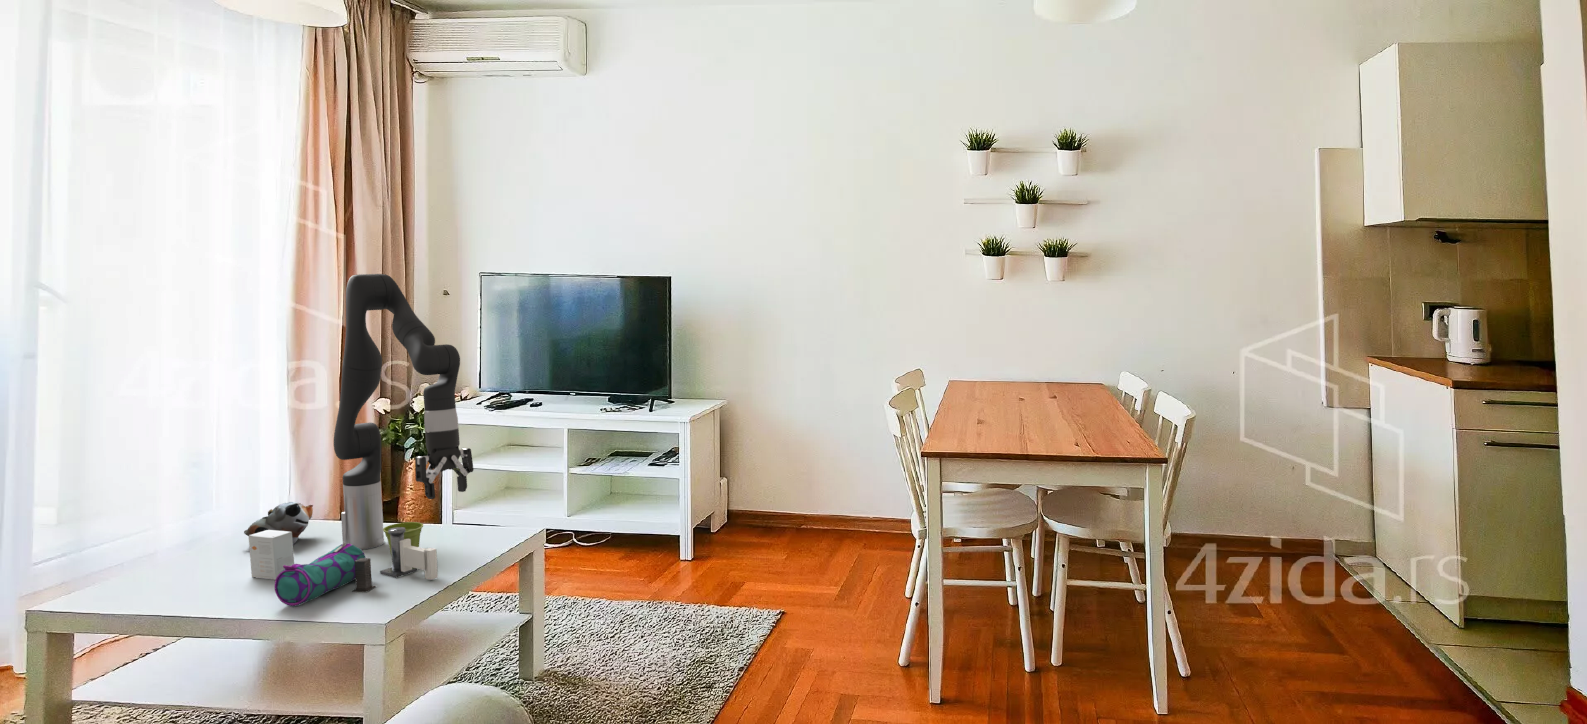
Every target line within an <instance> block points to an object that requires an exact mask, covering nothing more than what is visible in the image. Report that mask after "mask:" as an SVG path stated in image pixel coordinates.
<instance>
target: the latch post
mask: <svg viewBox="0 0 1587 724" xmlns="http://www.w3.org/2000/svg"><path fill="white" fill-rule="evenodd" d="M371 560H372V559H371V557H370V558H369V557H366V558H360V559H358V560H356V561H355V577H356V579H355V588H354V589H352V591H351V592H352V593H369V592H370V591H372V590H373V589H375V588H376V587H377V585H373V582H372V581H373V580H372V562H371Z"/></svg>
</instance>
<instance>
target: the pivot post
mask: <svg viewBox="0 0 1587 724" xmlns="http://www.w3.org/2000/svg"><path fill="white" fill-rule="evenodd" d="M404 532H405V528H404V527H396V528H391V529H389V530H388V534H390V538H391V552H390V557H391V567H388V568H385V569H382V570H380V571H379V572H380V573H379V574H380V575H383V576H387V577H391V578H394V579H395V578H396V577H397V578H400V577H402V576H403V577H404V576H406V575H410V574H412V572H413V573H416V572H418V571H419V569H417V568H413V567H412V570H409V571H406V572H402V571H401V560H400V541H401V540H404ZM397 578H396V579H397Z"/></svg>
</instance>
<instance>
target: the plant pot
mask: <svg viewBox="0 0 1587 724" xmlns="http://www.w3.org/2000/svg"><path fill="white" fill-rule="evenodd" d="M396 527H404V528H405V532H404V539H411V546H415V547H420V543H421V542H420V540H421V539H420V538H421V533H422V529H423V527H424V523H421V522H417V521H409V522H408V521H407V522H398V523H393V524H390V525H387V526H385V527H383V533H385V537H386V539H387V543H388V547H389V550H390V551H389V552H390V553H391V538H390V534H388V530H389V529H391V528H396Z"/></svg>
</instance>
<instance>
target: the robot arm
mask: <svg viewBox="0 0 1587 724" xmlns="http://www.w3.org/2000/svg"><path fill="white" fill-rule="evenodd" d="M382 310H383V311H384V310H387V311H389V312H390V313H392V314H393V318H392V324H391V328H392V332H393V334H394V337H395V339H396V340H397V341H398V342H399V343H400V344H401V345H402V346H403V347H404V349H406V351H407V353H408V356H409V358H410V361H411V364H412V367H413V369H414V370H415V371H416V372H417V373H418V374H420V375H423V376H433V375H434V376H435V375H436V376H437V375H439V376H438V379H437V382H435V383H433V384H430V385H427V386H426V387H424V389H423V394H422V395H423V404H424V405H423V407H424V419H423V420H424V423H423V424H424V434H425V437H424V438H425V447H426V450H427V454H426V455H423V456H422V455H421V456H420V455H417V456H415V458H414V463H415V464H414V465H415V467H414V469H415V470H414V471H415V472H414V473H415V474H414V475H415V482H417V483H418V482H419V483H423V485H424V495H425V497H426V498H427V499H429V500H433V499H435V498H436V490H435V487H436V486H435V483H434V481H435V479H436V477H437V476H438V475H439V474H440V472H444V471H445V472H446V470H452V471H454V473H455V474H456V475H457V476H456V481H457V483H456V484H457V491H458V493H459V492H460V493H465V492H466V491H467V488H468V479H467V475H468V474H470V473H473V472H474V464H473V456H472V455H473V454H472V449H471V448H469V447H461V449H460V448H459V446H460V428H459V418H458V412H457V406H456V393H455V392H456V387H457V381H458V375H459V370H460V366H461V356H460V354H459V353H460V352H459V351H458V349H457V347H455V346H454V345H453V344H446V343H445V344H436V337H435V335H434V334H433V333H432V331H431V330H430V329H429V328H428V327H427V325H425V323H423V322H422V320H421V319H419V317H418V316H417V315H416V313H415V312H414V310H413V309H412V307H411V305H410V304H409V302H408V300H407V298H406V296H405V295H404V293H403V292H402V290H401V288H400V287H399V285H398V284H397V282H396V281H395V280H394V278H393V277H391V276H390V275H389V274H383V273H366V274H363V273H361V274H360V273H359V274H353V275H351V276H350V277H349V278H348V281H347V284H346V290H345V340H344V341H345V342H344V351H343V359H342V367H341V382H340V383H341V385H340V386H341V387H340V399H339V407H338V412H337V416H336V422H335V428H334V435H333V450H334V451H333V452H334V454H335V457H337V458H338V459H339V460H342V461H348V460H355V459H361V461H360V463H358V464H357V465H356V466H354V467H353V468H351V469H349V470H348V471H345V473H343V475H342V489H343V490H342V491H343V506H344V511H342V512H341V514H340V518H341V534H342V535H341V536H342V537H341V538H342V544H343V543H344V542H345V543H346V544H348V543H350V544H351V545H354V546H356V547H357V548H359V549H361V550H367V549H372V548H376V547H379V546H382V545H383V544H385V543H384V542H385V538H384V537H385V536H384V531H383V529H384V516H383V500H382V498H383V497H382V482H381V475H382V435H381V430H380V428H379V427H378V425H377V424H376V423H374V422H364V423H363V422H362V423H356V421H357V418H358V415H359V414H360V411H361V410H362V408H363V407H364V405H366V403H367V401H368V400H369V399H370V398H371V397H372V395H373V394H374V392H375V391H376V390H377V388H378V387H379V386H380V382H381V377H382V376H381V375H382V366H383V357H382V353H381V351H380V350H379V348H378V346H377V345H376V343H375V342H374V340H373V338H372V337H371V335H370V332H369V330H368V328H367V321H366V318H367V312H368V311H382ZM460 457H461V461H460V460H459V459H460ZM428 463H429V464H428ZM427 465H428V467H427Z"/></svg>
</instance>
